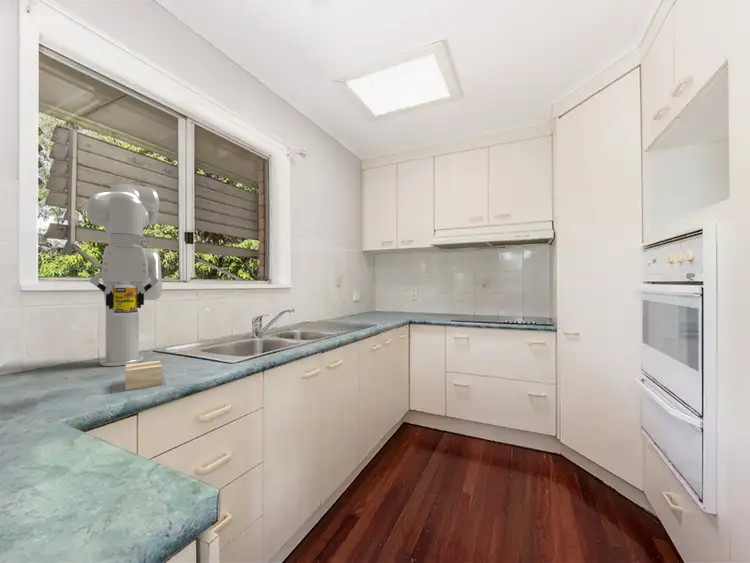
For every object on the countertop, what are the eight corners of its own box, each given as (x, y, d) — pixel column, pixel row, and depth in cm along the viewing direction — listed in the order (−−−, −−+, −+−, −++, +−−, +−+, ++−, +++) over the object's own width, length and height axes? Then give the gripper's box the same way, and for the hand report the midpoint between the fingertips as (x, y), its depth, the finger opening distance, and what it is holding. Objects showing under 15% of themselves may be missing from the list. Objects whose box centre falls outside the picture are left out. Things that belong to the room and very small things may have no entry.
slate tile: (112, 385, 94) (112, 381, 94) (162, 378, 101) (162, 374, 101) (110, 397, 84) (110, 393, 84) (166, 388, 91) (166, 384, 91)
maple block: (125, 382, 93) (125, 364, 93) (159, 377, 98) (159, 360, 98) (125, 390, 87) (125, 370, 87) (162, 384, 92) (162, 366, 92)
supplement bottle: (110, 316, 88) (111, 277, 88) (113, 314, 93) (114, 277, 93) (136, 315, 91) (137, 277, 91) (138, 313, 96) (138, 278, 96)
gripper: (162, 245, 100) (161, 306, 100) (86, 241, 91) (86, 308, 90) (163, 243, 94) (163, 307, 94) (82, 238, 85) (82, 310, 84)
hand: (125, 307), depth 92 cm, fingers closed on supplement bottle, 5 cm apart
